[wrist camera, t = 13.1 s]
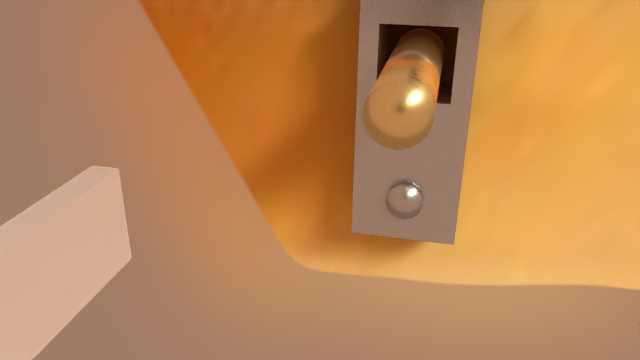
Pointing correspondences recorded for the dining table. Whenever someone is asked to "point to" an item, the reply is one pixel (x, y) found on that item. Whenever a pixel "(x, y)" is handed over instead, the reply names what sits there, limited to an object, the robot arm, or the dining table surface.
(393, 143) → the brass pin
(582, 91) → the dining table surface
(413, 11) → the riveted square sleeve
